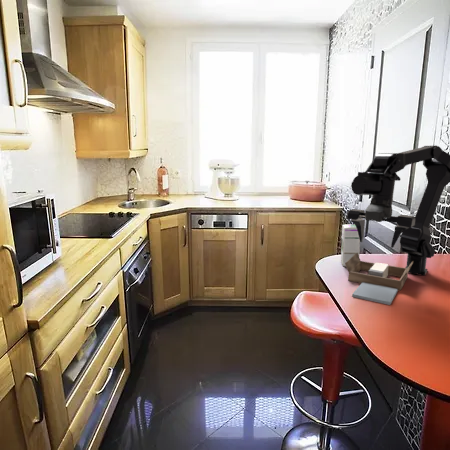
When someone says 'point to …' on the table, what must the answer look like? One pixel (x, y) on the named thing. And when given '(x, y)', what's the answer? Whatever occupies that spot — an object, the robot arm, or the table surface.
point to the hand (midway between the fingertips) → (376, 244)
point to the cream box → (379, 270)
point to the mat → (375, 293)
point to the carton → (356, 265)
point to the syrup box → (349, 242)
